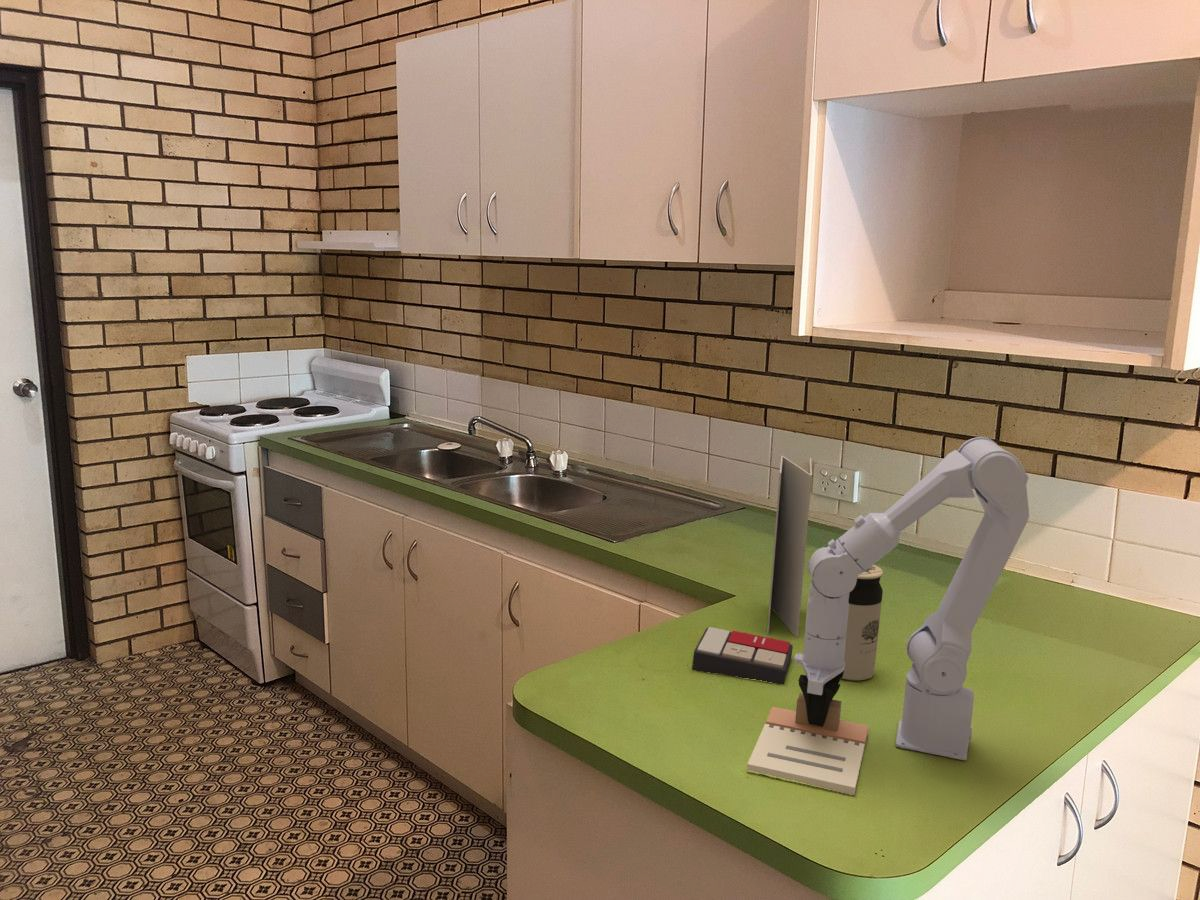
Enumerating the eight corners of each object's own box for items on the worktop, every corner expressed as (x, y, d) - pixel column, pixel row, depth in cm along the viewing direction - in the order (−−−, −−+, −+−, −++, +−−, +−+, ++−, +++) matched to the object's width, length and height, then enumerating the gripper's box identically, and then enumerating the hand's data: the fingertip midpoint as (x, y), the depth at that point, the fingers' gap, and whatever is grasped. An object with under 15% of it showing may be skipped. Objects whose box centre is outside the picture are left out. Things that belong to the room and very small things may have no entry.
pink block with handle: (867, 733, 142) (871, 702, 140) (864, 749, 137) (867, 718, 136) (771, 713, 146) (774, 684, 145) (765, 729, 142) (767, 698, 141)
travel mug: (815, 664, 164) (824, 562, 160) (855, 658, 167) (865, 558, 163) (842, 684, 157) (853, 578, 153) (883, 678, 160) (895, 574, 156)
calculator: (786, 666, 155) (694, 647, 159) (782, 691, 156) (691, 671, 160) (793, 640, 166) (707, 622, 170) (790, 663, 167) (704, 645, 171)
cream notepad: (863, 751, 136) (864, 743, 136) (854, 796, 125) (855, 786, 125) (764, 731, 141) (765, 723, 141) (746, 772, 130) (747, 763, 130)
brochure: (798, 637, 175) (812, 475, 168) (766, 634, 176) (779, 472, 170) (798, 609, 189) (811, 457, 182) (769, 606, 190) (781, 455, 183)
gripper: (805, 609, 146) (798, 693, 149) (788, 645, 133) (780, 736, 136) (853, 617, 144) (845, 702, 147) (841, 655, 131) (832, 747, 133)
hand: (817, 719), depth 141 cm, fingers closed on pink block with handle, 2 cm apart
